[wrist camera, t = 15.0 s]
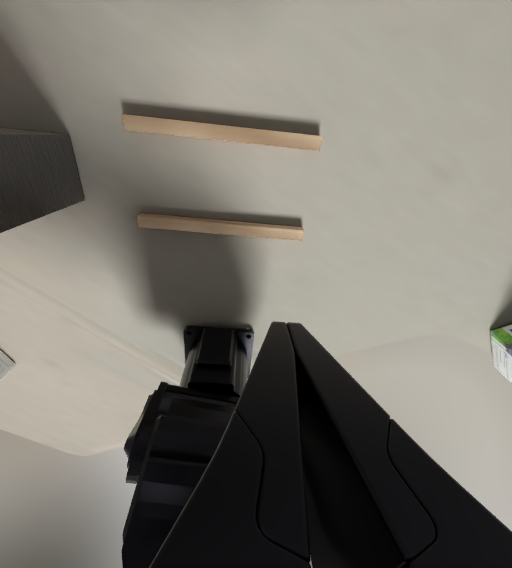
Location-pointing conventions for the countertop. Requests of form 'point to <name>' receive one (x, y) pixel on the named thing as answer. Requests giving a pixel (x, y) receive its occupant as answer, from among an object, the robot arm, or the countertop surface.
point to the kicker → (35, 176)
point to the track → (225, 135)
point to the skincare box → (5, 365)
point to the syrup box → (502, 350)
